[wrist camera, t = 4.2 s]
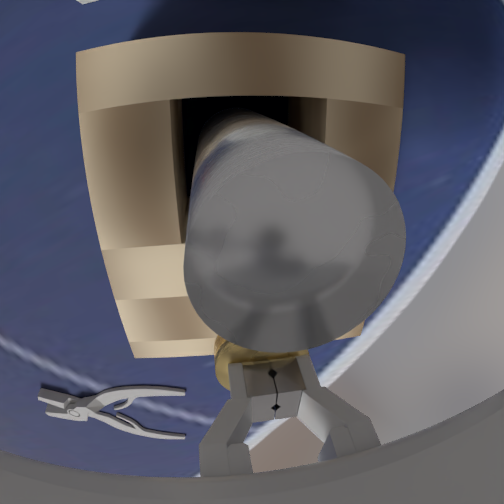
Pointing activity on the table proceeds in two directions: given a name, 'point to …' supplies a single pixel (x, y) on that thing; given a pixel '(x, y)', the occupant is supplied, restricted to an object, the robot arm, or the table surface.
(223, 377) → the key
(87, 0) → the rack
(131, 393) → the pliers
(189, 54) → the socket block
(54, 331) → the table surface
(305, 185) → the grey rounded cylinder
